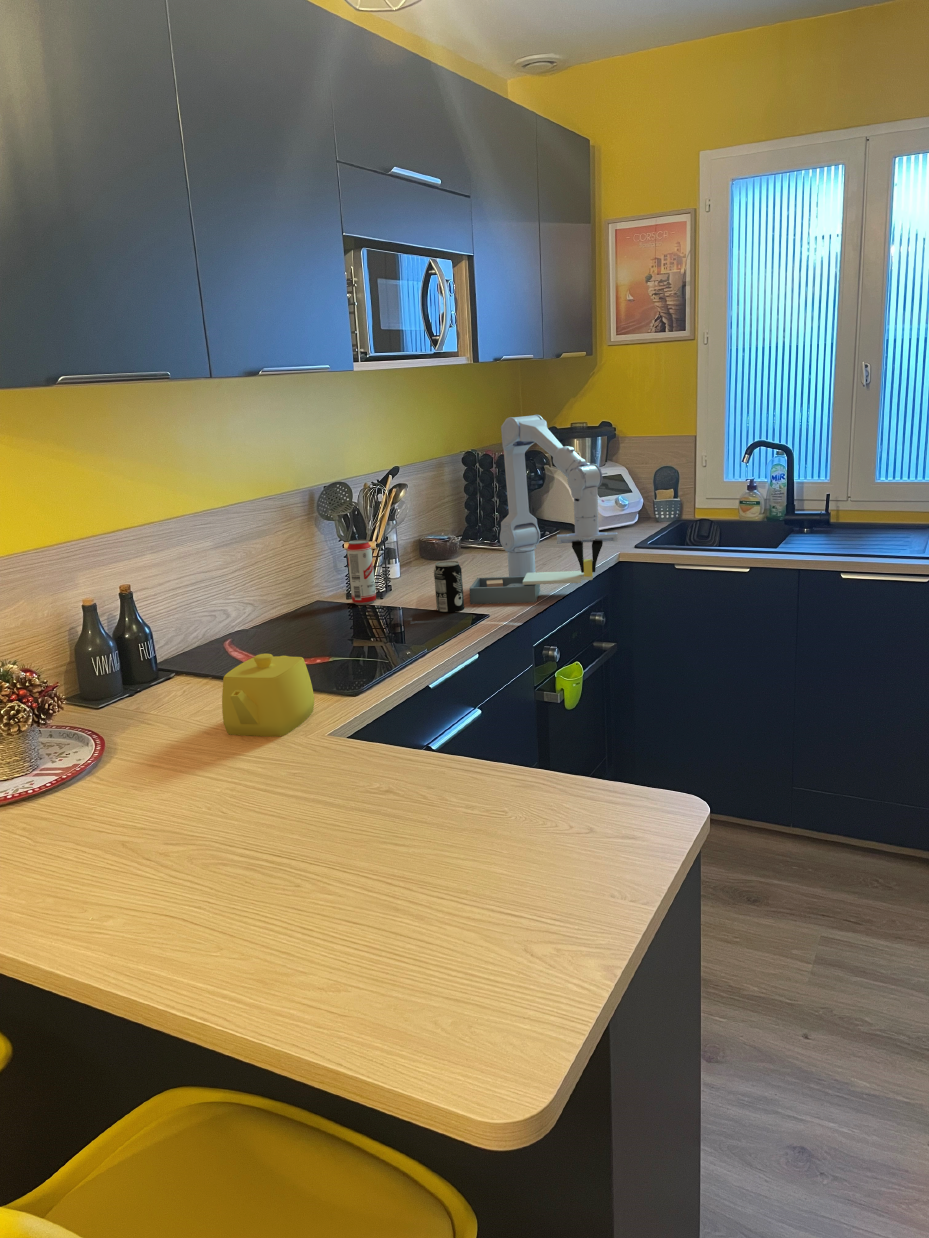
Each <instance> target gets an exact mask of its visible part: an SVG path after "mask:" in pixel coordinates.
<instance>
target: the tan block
mask: <svg viewBox="0 0 929 1238" xmlns="http://www.w3.org/2000/svg"><path fill="white" fill-rule="evenodd" d="M487 587H503V581H502V580H488V581H487Z"/></svg>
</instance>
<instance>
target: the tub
mask: <svg viewBox="0 0 929 1238" xmlns="http://www.w3.org/2000/svg"><path fill="white" fill-rule="evenodd" d="M524 578H525V576H517V577H509V576H496V577H495V576H493V577H492V576H491V577H490V576H489V577H486V576H485V577H476V578H475V580H474V581H473V582H472V584H471V585H470V586H469V588H468V589H469V603H470V605H485V604H486V605H487V604H488V605H489V604H494V605H495V604H521V603H523V604H524V603H526V604H528V603H530V604H531V603H536V602H537V600H538V598H539V595H540V592H541V584H529V585H527V586H509V587H506V586H508V585H510V584H511V583H515V584H523V580H524ZM488 580H502V581H503V587H487V581H488Z"/></svg>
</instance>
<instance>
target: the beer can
mask: <svg viewBox="0 0 929 1238" xmlns="http://www.w3.org/2000/svg"><path fill="white" fill-rule="evenodd" d="M372 551H373V550H372V546H371V544H370V543H369V540H368V539H355V540H350V541H348V546H347V549H346V554H347V555H346V556H347V562H348V563H347V564H348V572H349V573H348V574H349V581H350V592H351V601H352V602H353V604H355V605H357V606H367V605H371V604H373V603H375V601H376V600H377V591H376V590H377V589H376V582H375V569H374V561H373V552H372Z"/></svg>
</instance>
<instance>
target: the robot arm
mask: <svg viewBox="0 0 929 1238" xmlns="http://www.w3.org/2000/svg"><path fill="white" fill-rule="evenodd" d="M500 431H501V443H502V449H503V457H504V470H505V472H504V473H505V481H506V491H507V492H506V494H507V495H506V497H507V505H508V507H507V508H508V514H507V516H506V517H504V519H502V521H501V522H500V533H499V542H500V545H501V546H502V548H503V549H504V552H506V553H507V566H508V567H507V568H508V577H517V576H526V574H527V573H534V572H536V559H535V557H536V556H535V549H537V545H539V543H540V541H541V531H540V529H539V526H538V519H537V518H536V517H535V516H534V515H532V513H530V508H529V506H530V505H529V495H528V482H527V481H528V480H527V467H526V456H525V453H526V452H527V450H529V448H530V447H531V446H532V445H534V444H537V445H538V446H539V447H540V448H542V449H543V450H544V451H545V452H547V453H548V455H550V456H551V457H552V463H553V465H554V466H555V467H556V468H557V470H559V471H560V473H562V474H563V475H564V476H565V477H566V479H567V484H568V487H569V489H570V495H571V497H572V499H573V513H574V515H573V516H574V533H565V534H564V533H563V534H556V544H557V545H561V544H571V547H572V550H573V552H574V554H575V556H576V557H577V560H578V564H579V567H580V571H581V573H584V543H591V554H592V555H591V556H592V558H591V559H592V572H593V573H596V568H597V567H596V566H597V562H598V557H599V555H600V552H601V550H602V547H603V542H613V543H615V542H618V541H619V539H618V538H619V537H618V536H619V535H618V532H600V525H599V523H600V522H599V496H598V495H599V493H598V488H599V487H600V486H601V485H602V483H603V472H602V470H601V468H600V467H599V466H598V464H595V463H590V462H587V461H586V459H584V458H582V457H581V456H580V455H579V454H578V453H577V452H576V451H575V450H576V449H575V447H573V446H569V445H568V446H567V445H565V446H563V444H562V443H561V442H560V441H559V439H557V438H556V436H555V435H554V434H553V433H552V432H551V430H549V428H548V423H547V420H545V419H544V418H543V417H542V416H541V415H540V414H533V415H525V416H523V415H522V416H515V417H512V416H510V417H507V418H506V419H505V420H504V422H503V423H502V425H501V426H500Z"/></svg>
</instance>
